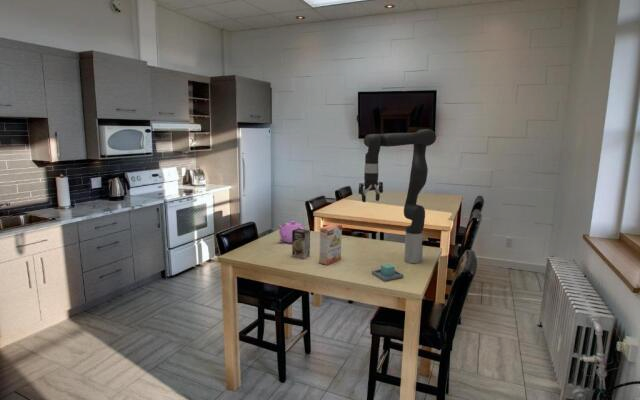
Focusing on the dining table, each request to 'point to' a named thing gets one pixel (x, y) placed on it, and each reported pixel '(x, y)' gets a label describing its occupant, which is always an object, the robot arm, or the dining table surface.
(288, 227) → the teapot
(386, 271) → the teal cube
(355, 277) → the dining table surface
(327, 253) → the cracker box
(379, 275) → the tray
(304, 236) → the coffee box
